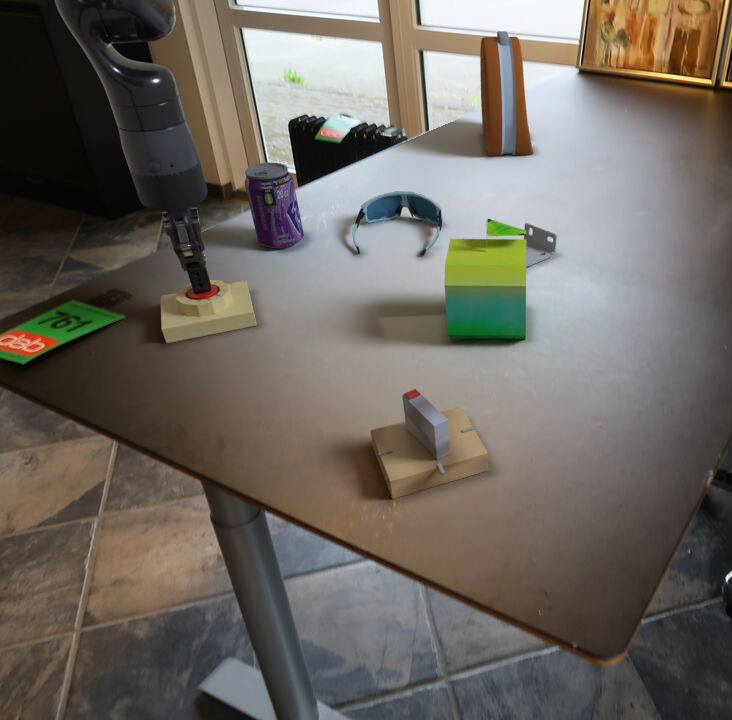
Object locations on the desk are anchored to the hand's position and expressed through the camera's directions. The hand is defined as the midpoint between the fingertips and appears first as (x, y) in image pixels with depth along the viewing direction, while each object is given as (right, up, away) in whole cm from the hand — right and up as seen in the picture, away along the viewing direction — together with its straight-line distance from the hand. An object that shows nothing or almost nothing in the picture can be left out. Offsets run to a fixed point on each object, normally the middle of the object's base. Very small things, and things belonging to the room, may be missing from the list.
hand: (203, 290), depth 92 cm
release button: (0, -1, +1) cm, 2 cm away
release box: (0, -3, +2) cm, 4 cm away
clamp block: (+33, -20, -19) cm, 43 cm away
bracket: (+42, +7, +18) cm, 46 cm away
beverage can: (+3, +10, +21) cm, 24 cm away
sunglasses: (+21, +11, +24) cm, 34 cm away
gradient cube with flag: (+37, -5, +2) cm, 38 cm away
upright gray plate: (+33, -17, -21) cm, 42 cm away
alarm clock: (+37, +38, +62) cm, 82 cm away
